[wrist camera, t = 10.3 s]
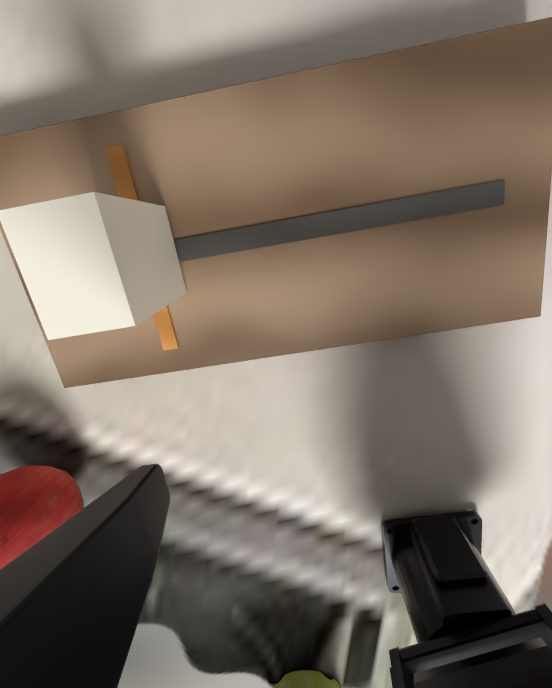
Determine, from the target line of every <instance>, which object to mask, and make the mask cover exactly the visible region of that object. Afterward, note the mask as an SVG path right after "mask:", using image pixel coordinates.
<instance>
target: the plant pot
mask: <svg viewBox="0 0 552 688" xmlns="http://www.w3.org/2000/svg"><path fill="white" fill-rule="evenodd" d="M273 688H341V687H340V685H339V684H338V682H337V681H336V680H335V679H332V680H330V679H328V678H326V677H325V676H324V675H323V674H322V673H321V672H319V671H314V670H299V671H293V672H290V673H288V674H285V675H284V677H283V678H282V680H281V681H280V682H279V683H278V684H274V686H273Z"/></svg>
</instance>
